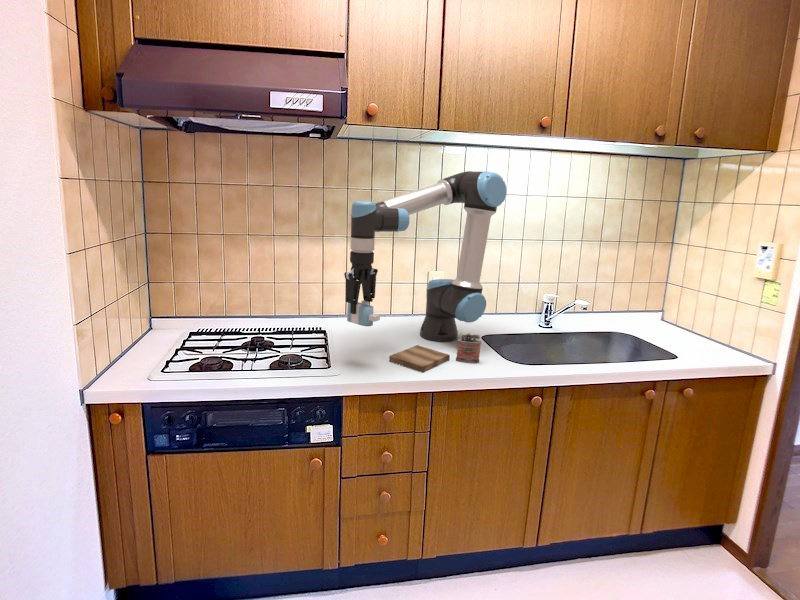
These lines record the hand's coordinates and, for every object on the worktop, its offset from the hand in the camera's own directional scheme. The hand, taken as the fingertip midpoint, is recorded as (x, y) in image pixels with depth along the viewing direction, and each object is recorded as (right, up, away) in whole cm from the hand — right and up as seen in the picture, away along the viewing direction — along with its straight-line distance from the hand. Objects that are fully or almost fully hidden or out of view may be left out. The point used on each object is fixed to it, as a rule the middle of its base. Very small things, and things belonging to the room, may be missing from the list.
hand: (359, 321), depth 163 cm
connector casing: (+1, -1, -1) cm, 1 cm away
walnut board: (+20, -14, +9) cm, 26 cm away
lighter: (+37, -15, +11) cm, 41 cm away
